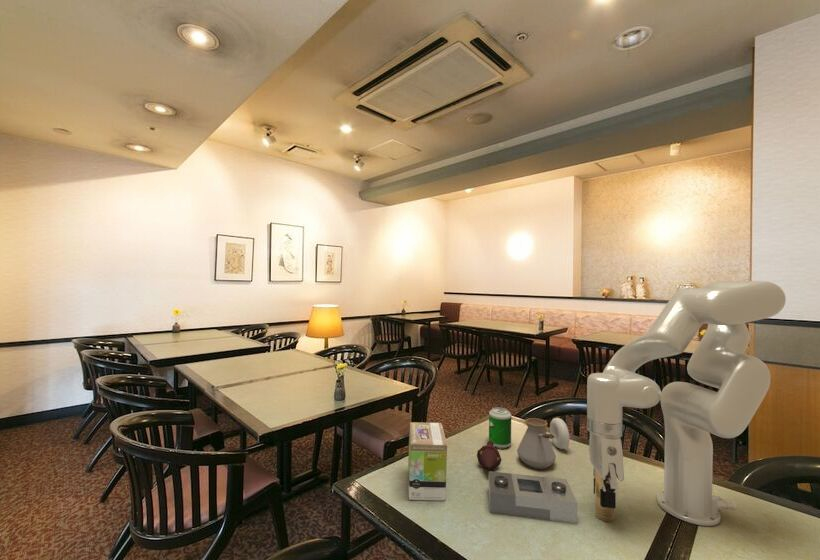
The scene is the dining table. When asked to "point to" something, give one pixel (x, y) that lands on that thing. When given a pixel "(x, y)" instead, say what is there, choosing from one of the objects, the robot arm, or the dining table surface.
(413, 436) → the tea box
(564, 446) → the donut
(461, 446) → the dining table surface
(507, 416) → the soda can
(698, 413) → the robot arm
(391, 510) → the dining table surface
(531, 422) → the coffee pot
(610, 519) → the pin
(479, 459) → the icecream
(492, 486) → the grey rectangular block
